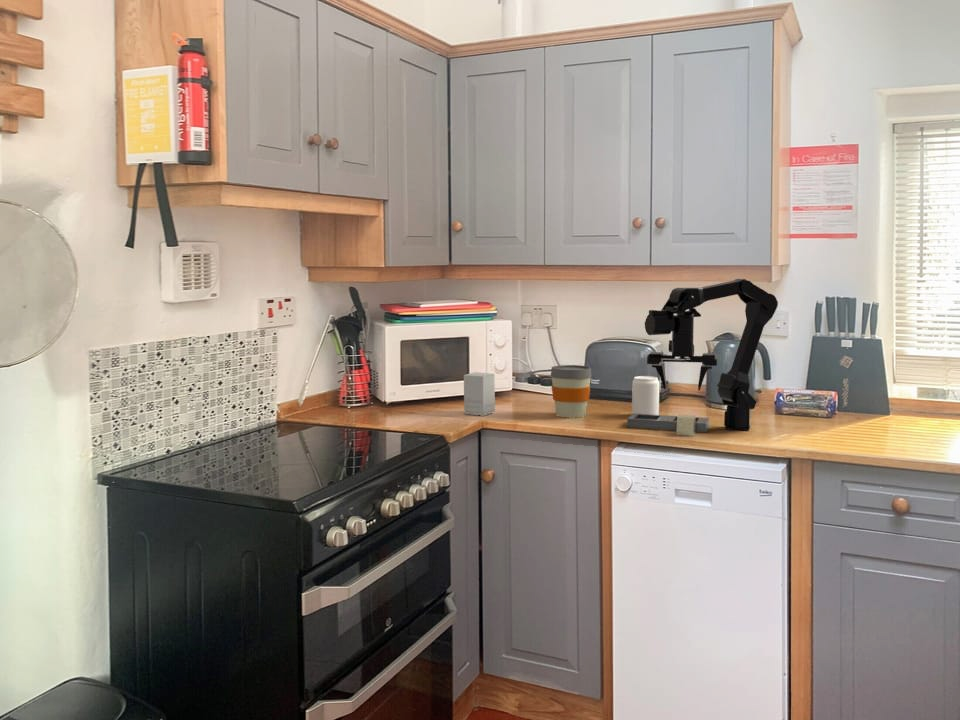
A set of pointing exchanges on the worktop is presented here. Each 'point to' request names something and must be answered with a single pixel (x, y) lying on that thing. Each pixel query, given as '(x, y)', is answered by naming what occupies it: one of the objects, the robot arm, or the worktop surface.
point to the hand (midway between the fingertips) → (682, 389)
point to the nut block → (686, 425)
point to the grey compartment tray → (663, 422)
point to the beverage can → (645, 395)
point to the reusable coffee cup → (571, 389)
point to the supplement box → (479, 393)
